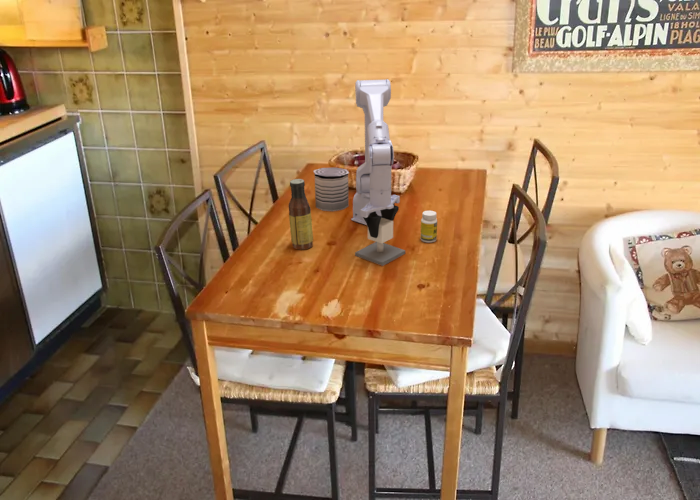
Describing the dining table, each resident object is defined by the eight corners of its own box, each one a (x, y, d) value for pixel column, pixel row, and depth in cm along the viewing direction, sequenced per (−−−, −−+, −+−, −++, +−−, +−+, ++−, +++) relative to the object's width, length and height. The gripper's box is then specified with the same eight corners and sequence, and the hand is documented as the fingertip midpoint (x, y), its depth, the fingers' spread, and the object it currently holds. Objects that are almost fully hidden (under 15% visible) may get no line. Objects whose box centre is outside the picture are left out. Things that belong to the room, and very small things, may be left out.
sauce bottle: (317, 243, 207) (314, 179, 198) (306, 252, 202) (303, 186, 193) (297, 240, 209) (293, 176, 201) (286, 248, 204) (282, 183, 196)
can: (307, 207, 232) (306, 172, 227) (327, 196, 241) (326, 162, 236) (337, 214, 227) (336, 178, 222) (355, 202, 236) (355, 168, 230)
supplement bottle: (435, 243, 206) (436, 216, 202) (419, 242, 207) (420, 215, 203) (437, 236, 210) (438, 210, 206) (421, 235, 211) (422, 209, 207)
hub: (367, 238, 197) (367, 222, 195) (379, 233, 200) (379, 216, 198) (381, 243, 194) (381, 226, 192) (393, 237, 197) (393, 221, 195)
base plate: (355, 255, 199) (354, 241, 197) (377, 244, 206) (377, 229, 204) (382, 265, 193) (382, 250, 191) (405, 253, 200) (405, 239, 198)
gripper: (374, 198, 184) (374, 246, 189) (408, 183, 193) (407, 229, 199) (354, 192, 188) (354, 239, 194) (388, 177, 198) (388, 222, 203)
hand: (380, 233), depth 197 cm, fingers closed on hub, 5 cm apart
